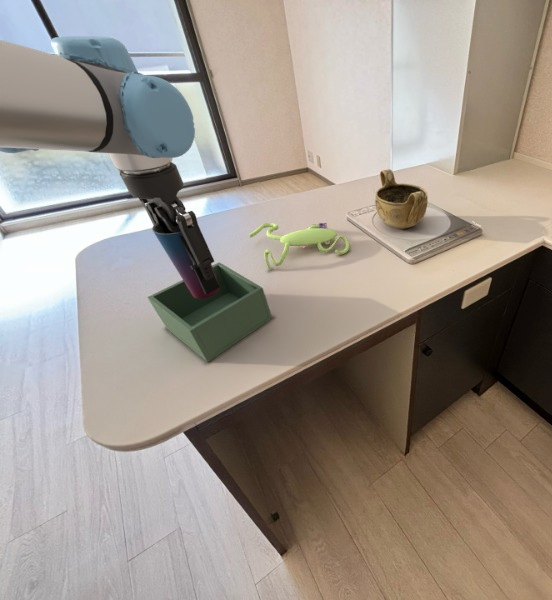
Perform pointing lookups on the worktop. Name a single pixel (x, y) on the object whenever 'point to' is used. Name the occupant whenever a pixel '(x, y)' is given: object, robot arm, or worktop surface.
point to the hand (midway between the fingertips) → (202, 283)
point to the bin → (213, 312)
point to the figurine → (302, 239)
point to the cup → (181, 261)
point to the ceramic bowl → (400, 202)
